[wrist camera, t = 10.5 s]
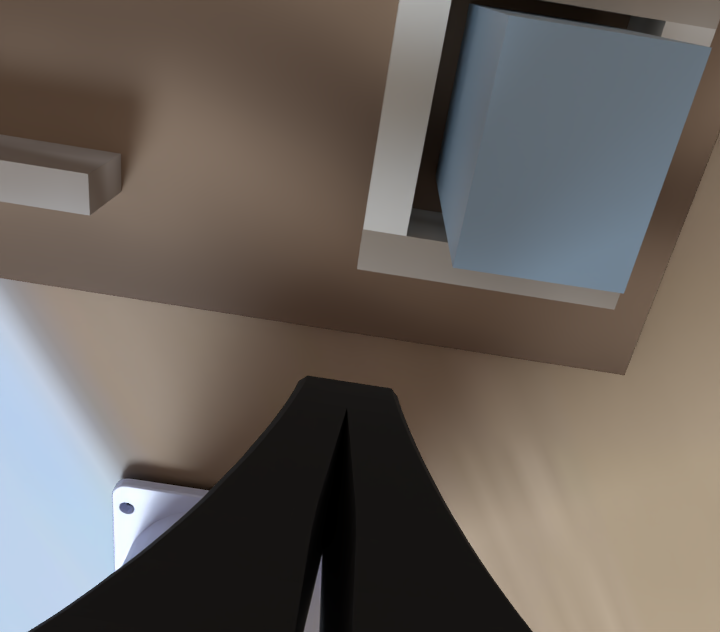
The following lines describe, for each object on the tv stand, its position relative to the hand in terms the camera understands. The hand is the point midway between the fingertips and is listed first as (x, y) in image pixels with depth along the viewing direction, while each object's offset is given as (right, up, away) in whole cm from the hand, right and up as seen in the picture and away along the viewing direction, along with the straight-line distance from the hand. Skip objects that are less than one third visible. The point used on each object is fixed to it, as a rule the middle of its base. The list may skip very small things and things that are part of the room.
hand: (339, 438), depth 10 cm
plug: (+4, +7, +6) cm, 10 cm away
